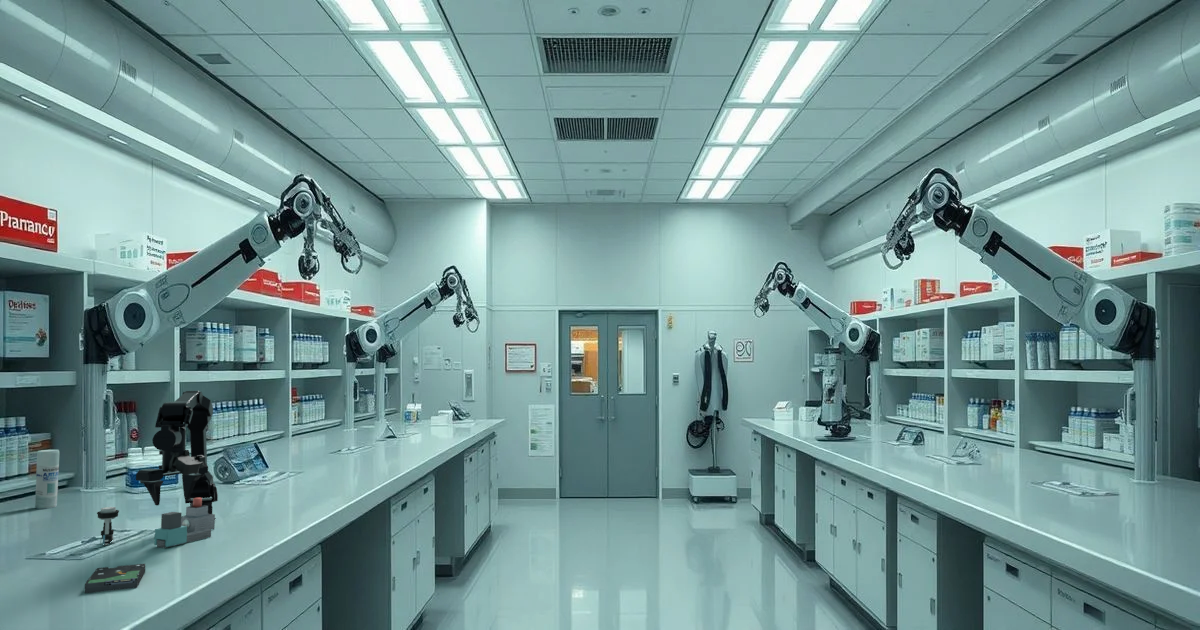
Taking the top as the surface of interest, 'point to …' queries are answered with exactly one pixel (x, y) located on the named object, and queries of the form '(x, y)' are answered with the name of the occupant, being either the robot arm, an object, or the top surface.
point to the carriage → (171, 530)
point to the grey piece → (198, 519)
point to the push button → (107, 523)
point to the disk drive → (115, 578)
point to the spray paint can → (47, 479)
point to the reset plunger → (197, 502)
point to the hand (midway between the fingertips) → (172, 502)
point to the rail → (188, 537)
